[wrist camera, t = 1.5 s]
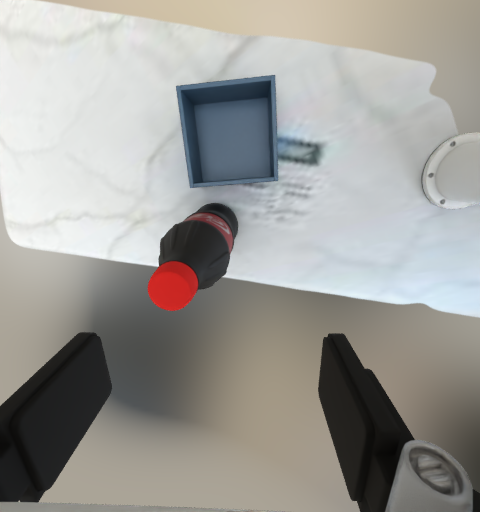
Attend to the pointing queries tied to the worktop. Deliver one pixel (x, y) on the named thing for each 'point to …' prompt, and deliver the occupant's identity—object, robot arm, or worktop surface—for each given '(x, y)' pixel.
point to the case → (229, 131)
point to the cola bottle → (193, 256)
